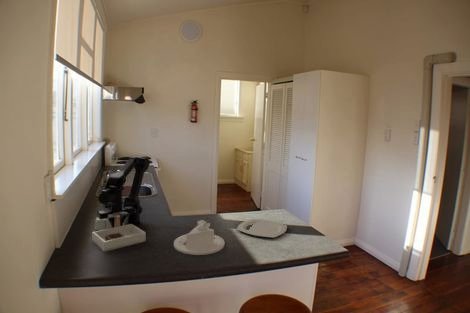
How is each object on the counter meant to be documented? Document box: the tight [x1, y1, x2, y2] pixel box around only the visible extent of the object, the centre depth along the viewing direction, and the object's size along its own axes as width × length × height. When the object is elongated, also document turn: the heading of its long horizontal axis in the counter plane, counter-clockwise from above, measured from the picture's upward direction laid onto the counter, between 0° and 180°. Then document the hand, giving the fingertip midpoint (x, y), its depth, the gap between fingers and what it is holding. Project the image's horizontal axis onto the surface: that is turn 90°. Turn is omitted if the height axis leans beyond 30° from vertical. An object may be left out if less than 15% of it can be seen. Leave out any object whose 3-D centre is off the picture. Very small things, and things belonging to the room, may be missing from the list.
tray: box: [91, 223, 147, 253], centre depth 148 cm, size 20×16×4 cm
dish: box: [173, 219, 226, 256], centre depth 148 cm, size 25×25×11 cm
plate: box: [236, 218, 288, 239], centre depth 171 cm, size 27×27×2 cm
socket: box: [105, 233, 125, 241], centre depth 146 cm, size 7×7×2 cm
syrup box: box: [94, 215, 125, 231], centre depth 165 cm, size 6×6×14 cm
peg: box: [114, 215, 120, 227], centre depth 159 cm, size 4×4×8 cm
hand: (116, 228), depth 160 cm, fingers closed on peg, 4 cm apart
